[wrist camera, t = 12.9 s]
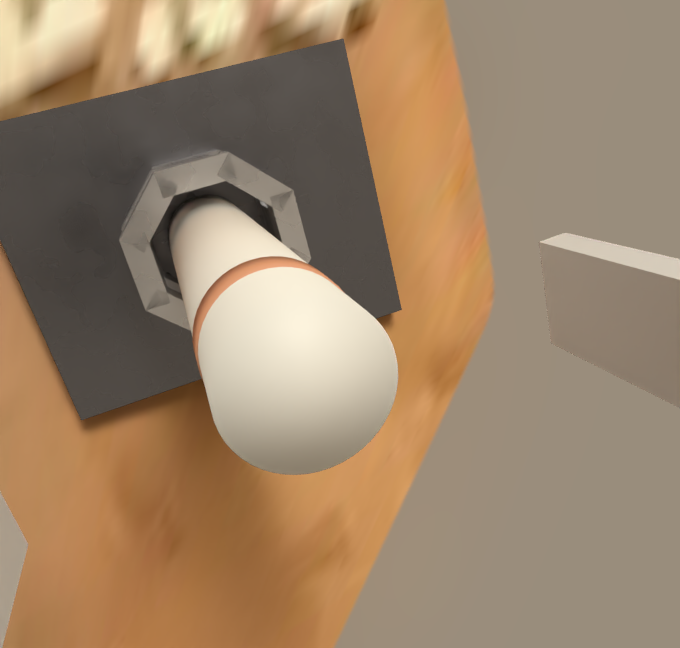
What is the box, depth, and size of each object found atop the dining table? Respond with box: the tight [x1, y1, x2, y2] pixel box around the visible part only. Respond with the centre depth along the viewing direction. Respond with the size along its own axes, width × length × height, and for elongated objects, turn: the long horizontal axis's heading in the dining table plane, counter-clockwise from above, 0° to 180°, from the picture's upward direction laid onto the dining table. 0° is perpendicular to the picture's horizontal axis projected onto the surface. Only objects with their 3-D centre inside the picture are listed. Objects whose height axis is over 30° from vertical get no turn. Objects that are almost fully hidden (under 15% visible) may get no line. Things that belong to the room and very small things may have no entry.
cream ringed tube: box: [168, 195, 398, 475], centre depth 24 cm, size 4×4×22 cm
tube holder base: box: [0, 39, 402, 420], centre depth 32 cm, size 20×16×6 cm
